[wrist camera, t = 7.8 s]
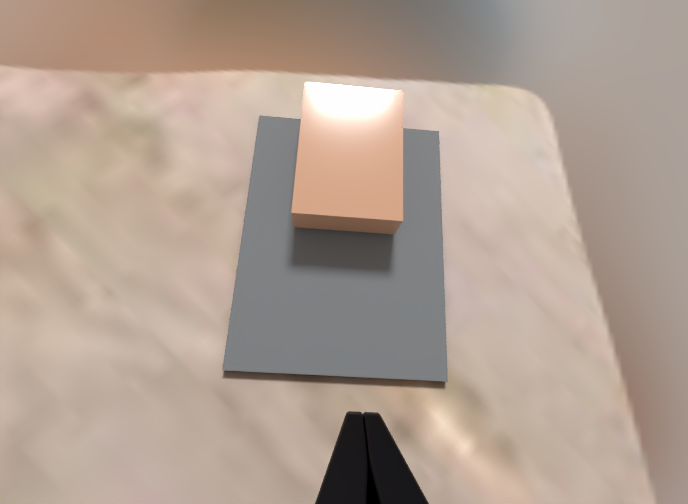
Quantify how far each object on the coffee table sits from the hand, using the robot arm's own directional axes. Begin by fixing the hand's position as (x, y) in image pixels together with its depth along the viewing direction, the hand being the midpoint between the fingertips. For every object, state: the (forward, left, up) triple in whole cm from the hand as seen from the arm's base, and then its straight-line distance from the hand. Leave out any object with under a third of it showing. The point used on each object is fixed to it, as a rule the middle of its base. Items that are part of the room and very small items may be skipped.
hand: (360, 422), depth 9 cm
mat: (+7, -6, -13) cm, 17 cm away
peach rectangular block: (+8, -6, -11) cm, 15 cm away
